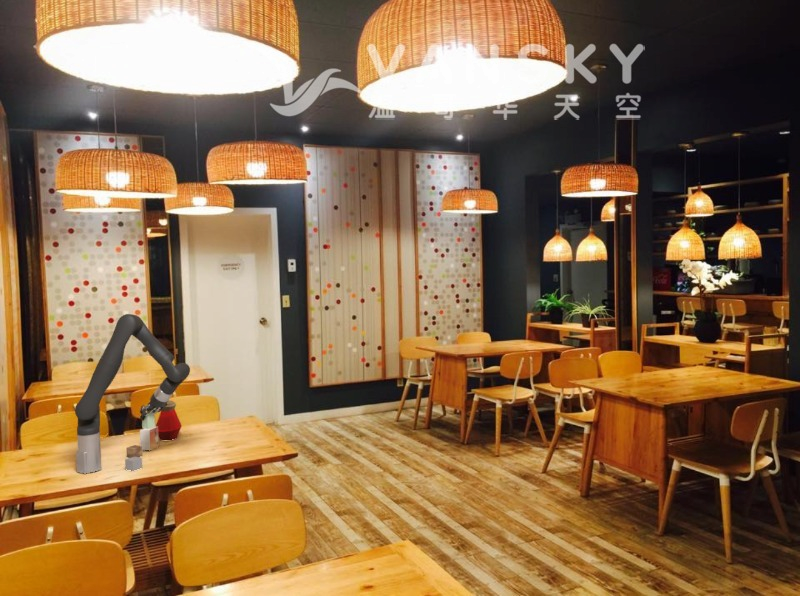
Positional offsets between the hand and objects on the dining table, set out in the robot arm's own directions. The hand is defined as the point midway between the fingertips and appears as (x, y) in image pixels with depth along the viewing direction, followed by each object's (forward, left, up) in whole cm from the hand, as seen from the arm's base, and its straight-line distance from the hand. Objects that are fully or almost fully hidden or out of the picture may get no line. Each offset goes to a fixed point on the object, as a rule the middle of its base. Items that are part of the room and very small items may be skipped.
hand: (145, 417), depth 303 cm
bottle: (+30, +20, -20) cm, 41 cm away
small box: (+13, +14, -20) cm, 28 cm away
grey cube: (-13, -7, -20) cm, 25 cm away
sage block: (0, -2, -4) cm, 5 cm away
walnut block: (0, +9, -20) cm, 22 cm away
